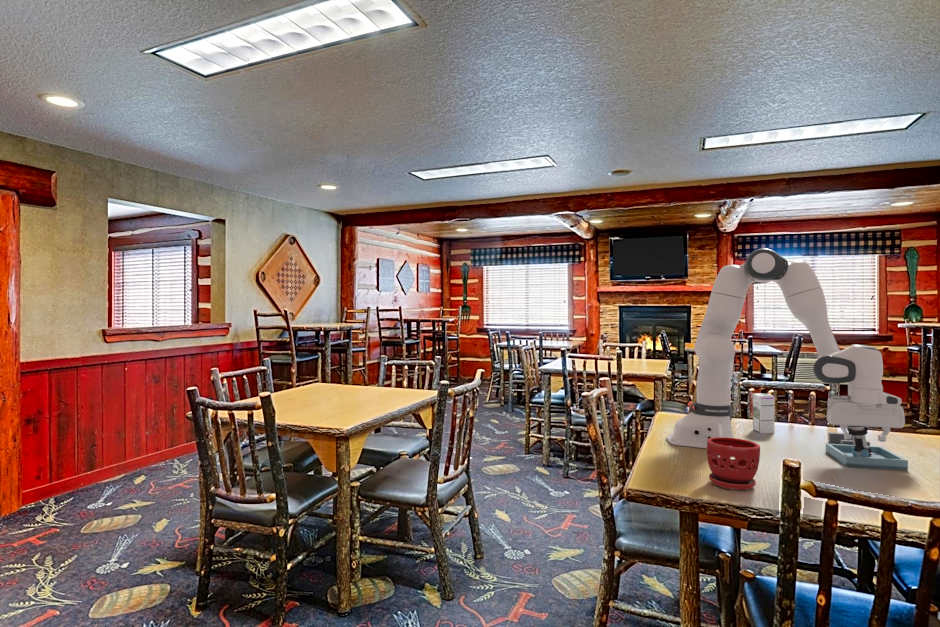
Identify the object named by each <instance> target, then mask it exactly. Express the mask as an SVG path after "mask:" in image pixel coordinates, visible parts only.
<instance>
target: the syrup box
mask: <svg viewBox="0 0 940 627" xmlns="http://www.w3.org/2000/svg"><path fill="white" fill-rule="evenodd" d="M752 430H753V431H755V432H757V433H759V434H775V396H774V395H772V394H769V393H766V392H765V393H761V392H759V393H758V392H757V393H752Z"/></svg>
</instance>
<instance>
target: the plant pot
mask: <svg viewBox="0 0 940 627" xmlns="http://www.w3.org/2000/svg"><path fill="white" fill-rule="evenodd" d="M731 446H732V447H731ZM706 456H707V463H708V467H709V469H710V471H711V472H710V473H709V475H708V479H709V481H711V483H713V484H714V485H716V486H718V487H721V488H722V489H723V488H724V489H726V490H734V491H735V490H737V491H744V490H751V489H752V488H754V487H755V486H756V484H757V481H756V480H755V479H754V478H755V476H756V474H757V472H758V469H759V464H760V458H761V445H760V444H758V443H757V442H754V441H750V440H747V439H743V438H736V437H735V438H727V437H715V438H709V439H708V440H707V448H706ZM731 458H734V459H731Z"/></svg>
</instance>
